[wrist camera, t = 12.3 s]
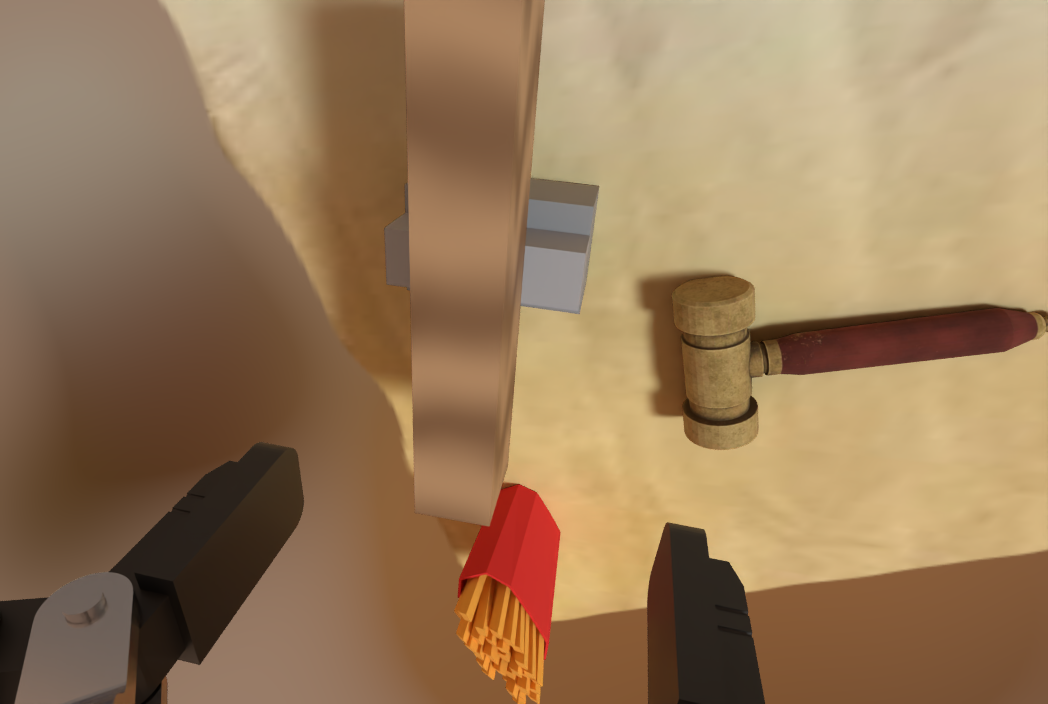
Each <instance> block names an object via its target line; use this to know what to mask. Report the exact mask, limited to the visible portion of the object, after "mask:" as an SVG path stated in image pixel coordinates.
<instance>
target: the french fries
mask: <svg viewBox="0 0 1048 704" xmlns="http://www.w3.org/2000/svg"><path fill="white" fill-rule="evenodd" d="M559 541H560V530H559V529H558V527H557V525H556V523H555V521H554V519H553V518H552V516H551V514H550V512H549V511H548V509H547V507H546V506H545V504H544V503H543V501H542V500H541V498H540V497H539V495H538V494H537V492H535V491H532V490H530V489H528V488H526V487H524V486H522V485H520V484H518V485H515V486H511V487H508V488H504V489H501V490H500V493H499V496H498V500H497V503H496V506H495V510H494V513H493V516H492V519H491V523H490V526H483V525H482V526H481V529H480V531H479V533H478V536H477V538H476V540H475V543H474V545H473V547H472V550H471V552H470V554H469V557H468V559H467V561H466V564H465V566H464V568H463V571H462V573H461V576H460V578H459V588H458V598H459V600H458V602H457V605H456V607H455V610H454V611H455V613H456V614H457V615H458V617H459V618H461V620H460V623H459V626H458V629H457V632H456V634H457V635H458V636H459V638H460V639H461V640H462V641H463V642H464V645H465V646H466V647H468V648H469V649H470V650H471V651H473V652H474V654H475V656H476V657H477V658H476V661H477V662H478V664H479V665H480V666H481V667H482V671H483V672H484V673H485V674H486V675H487V676H489V677H490V678H491V679H493V680H494V677H495V672H496V671H498V672H499V673H500V674H502V675H503V679H504V680H505V681H507V683H506V687H505V688H506V689H507V691H508V692H509V693H510V694H511V695H512V696H513V697H512V699H513V700H514V701H515V702H516V703H518V704H526V694H527V695H528V696H529V698H530V699H531V700H533V701H535V702H536V703H538V704H540V686H543V660H545V659H546V654H547V649H548V644H549V636H550V626H551V617H552V607H553V598H554V588H555V579H556V569H557V560H558V550H559Z"/></svg>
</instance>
